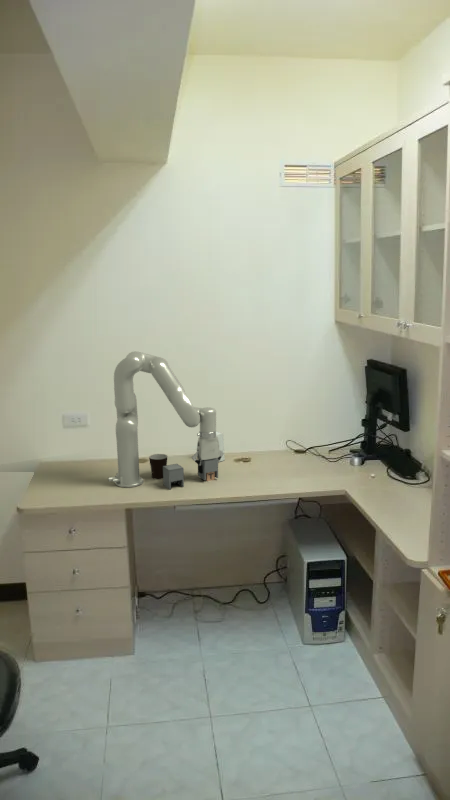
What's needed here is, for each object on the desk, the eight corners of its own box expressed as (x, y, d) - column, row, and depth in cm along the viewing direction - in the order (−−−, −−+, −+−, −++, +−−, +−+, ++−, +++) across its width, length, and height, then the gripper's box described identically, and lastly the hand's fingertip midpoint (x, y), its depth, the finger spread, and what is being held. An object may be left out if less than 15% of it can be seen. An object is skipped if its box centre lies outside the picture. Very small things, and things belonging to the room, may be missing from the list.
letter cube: (207, 481, 268) (207, 473, 268) (203, 478, 272) (203, 470, 271) (214, 479, 270) (214, 471, 269) (210, 477, 274) (210, 469, 273)
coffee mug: (164, 480, 270) (164, 459, 268) (147, 479, 272) (146, 458, 270) (172, 472, 281) (171, 452, 279) (155, 471, 283) (154, 451, 281)
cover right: (204, 480, 266) (204, 461, 264) (197, 476, 272) (197, 457, 270) (218, 478, 270) (218, 459, 268) (211, 473, 276) (211, 455, 274)
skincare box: (224, 460, 298) (224, 432, 295) (216, 463, 294) (215, 434, 291) (213, 457, 304) (213, 429, 301) (205, 459, 300) (204, 431, 297)
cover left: (169, 489, 258) (169, 470, 256) (163, 484, 264) (162, 466, 262) (183, 486, 261) (183, 467, 259) (177, 482, 267) (177, 463, 265)
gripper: (194, 438, 259) (194, 476, 263) (228, 434, 268) (228, 470, 271) (187, 435, 266) (187, 472, 269) (220, 430, 274) (220, 466, 278)
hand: (207, 471), depth 270 cm, fingers closed on cover right, 7 cm apart
